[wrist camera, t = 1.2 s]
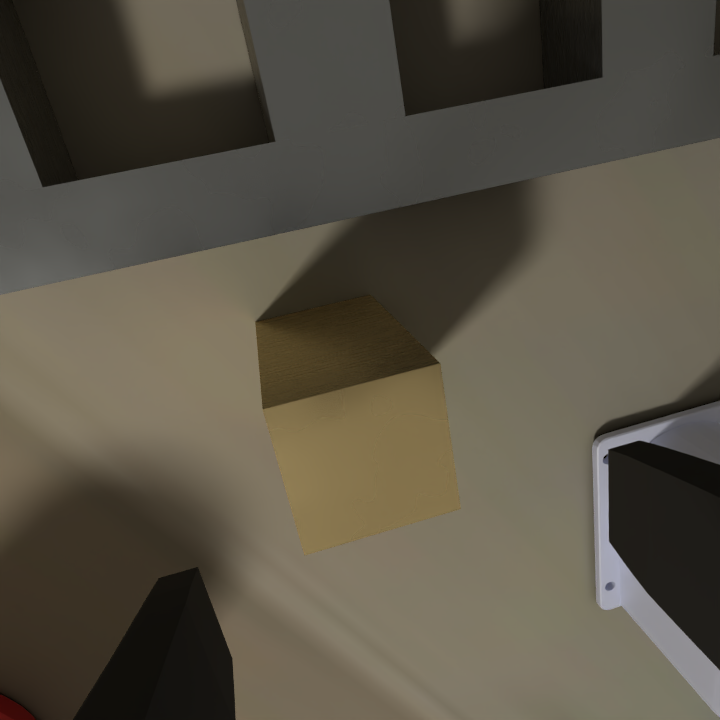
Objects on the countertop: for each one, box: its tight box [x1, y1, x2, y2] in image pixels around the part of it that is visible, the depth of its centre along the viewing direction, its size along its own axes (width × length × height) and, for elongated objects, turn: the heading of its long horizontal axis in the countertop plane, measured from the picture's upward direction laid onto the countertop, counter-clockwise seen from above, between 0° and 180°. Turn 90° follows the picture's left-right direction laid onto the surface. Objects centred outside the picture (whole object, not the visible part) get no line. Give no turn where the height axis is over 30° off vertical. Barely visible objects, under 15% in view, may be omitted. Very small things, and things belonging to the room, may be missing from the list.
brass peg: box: [255, 295, 461, 555], centre depth 15 cm, size 4×4×7 cm
